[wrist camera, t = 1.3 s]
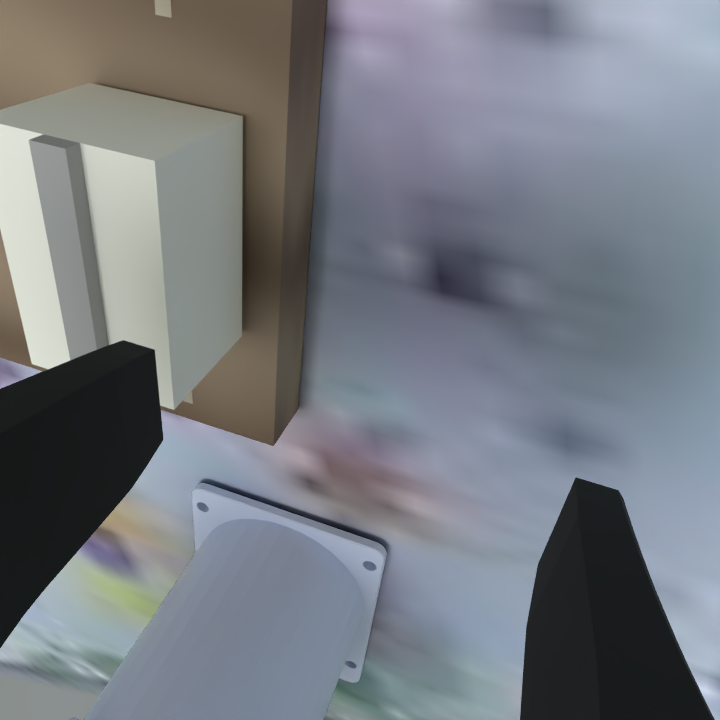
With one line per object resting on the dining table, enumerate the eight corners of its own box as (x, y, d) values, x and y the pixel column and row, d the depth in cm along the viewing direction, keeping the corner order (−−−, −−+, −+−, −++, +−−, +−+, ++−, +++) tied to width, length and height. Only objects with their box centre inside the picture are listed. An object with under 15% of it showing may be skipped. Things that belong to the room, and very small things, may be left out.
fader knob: (242, 335, 18) (164, 419, 15) (117, 299, 19) (20, 373, 16) (242, 116, 15) (141, 167, 12) (90, 82, 15) (-43, 122, 12)
